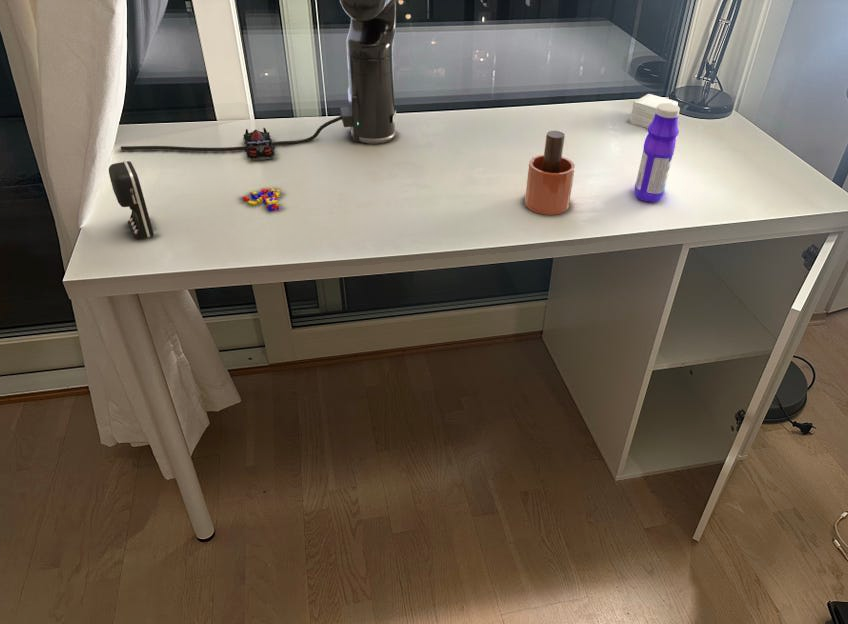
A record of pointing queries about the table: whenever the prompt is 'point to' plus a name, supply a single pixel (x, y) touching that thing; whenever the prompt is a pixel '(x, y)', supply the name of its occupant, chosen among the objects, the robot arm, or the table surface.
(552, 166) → the dowel
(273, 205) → the building blocks
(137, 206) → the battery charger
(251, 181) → the table surface
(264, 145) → the toy car
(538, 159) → the holder
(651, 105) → the small box
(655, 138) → the bottle
